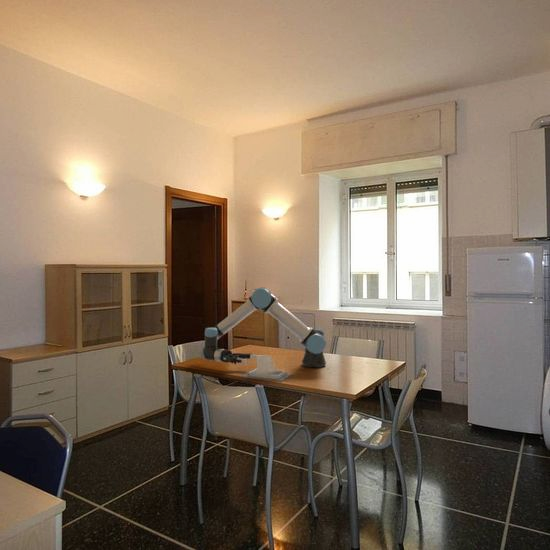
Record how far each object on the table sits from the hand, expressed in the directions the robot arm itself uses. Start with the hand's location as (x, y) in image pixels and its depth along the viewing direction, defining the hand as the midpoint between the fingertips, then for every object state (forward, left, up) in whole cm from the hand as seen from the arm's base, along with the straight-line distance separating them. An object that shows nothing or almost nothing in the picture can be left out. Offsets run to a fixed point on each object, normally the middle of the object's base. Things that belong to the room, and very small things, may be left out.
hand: (253, 359), depth 255 cm
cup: (-9, +2, -7) cm, 12 cm away
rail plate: (-9, +2, -8) cm, 12 cm away
